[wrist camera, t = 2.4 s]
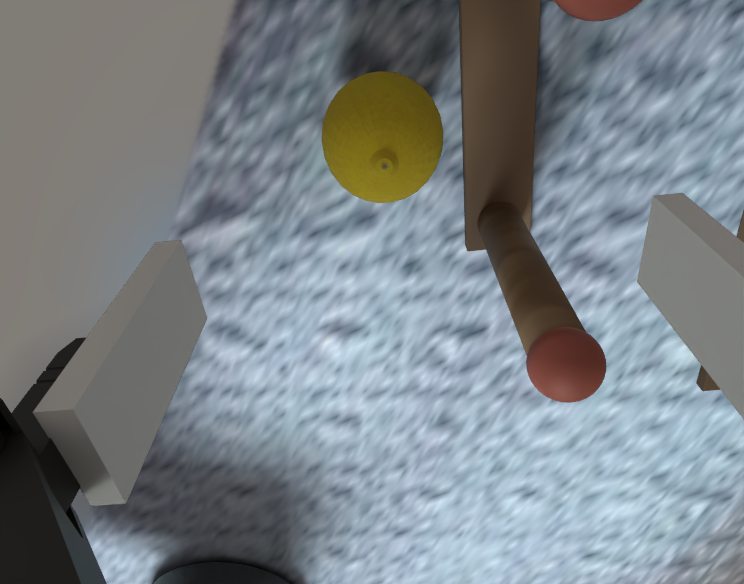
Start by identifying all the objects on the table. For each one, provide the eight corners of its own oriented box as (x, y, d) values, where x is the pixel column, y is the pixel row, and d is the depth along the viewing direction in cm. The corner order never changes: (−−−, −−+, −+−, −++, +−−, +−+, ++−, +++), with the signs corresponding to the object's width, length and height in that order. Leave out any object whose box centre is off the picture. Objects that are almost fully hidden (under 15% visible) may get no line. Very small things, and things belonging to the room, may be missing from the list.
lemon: (452, 131, 29) (477, 187, 22) (364, 183, 30) (362, 251, 24) (399, 33, 26) (410, 64, 19) (306, 96, 28) (286, 145, 21)
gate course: (469, 403, 39) (515, 611, 27) (456, -88, 24) (550, -126, 11) (749, 378, 38) (929, 584, 26) (931, -156, 22) (1617, -280, 10)
